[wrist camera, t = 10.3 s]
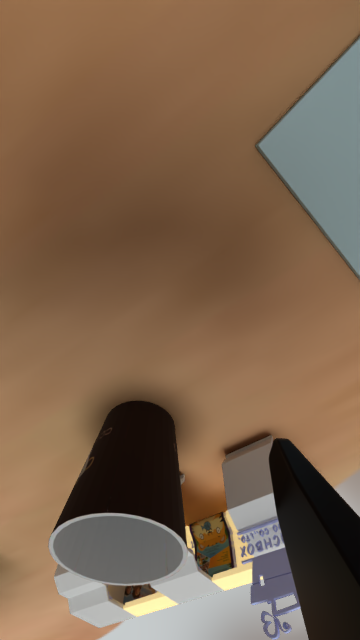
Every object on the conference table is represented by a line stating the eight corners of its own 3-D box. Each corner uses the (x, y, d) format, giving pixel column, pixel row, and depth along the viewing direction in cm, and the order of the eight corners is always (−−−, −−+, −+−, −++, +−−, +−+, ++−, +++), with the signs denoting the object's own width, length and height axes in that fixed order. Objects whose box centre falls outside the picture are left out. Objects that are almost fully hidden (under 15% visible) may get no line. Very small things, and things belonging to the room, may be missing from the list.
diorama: (266, 425, 27) (325, 615, 16) (312, 483, 31) (387, 670, 20) (74, 513, 34) (17, 690, 23) (131, 552, 38) (107, 720, 27)
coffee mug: (135, 374, 24) (107, 493, 16) (206, 427, 27) (216, 554, 18) (55, 442, 28) (-3, 567, 20) (124, 483, 31) (101, 609, 22)
